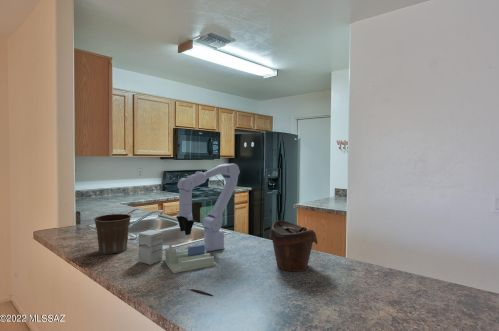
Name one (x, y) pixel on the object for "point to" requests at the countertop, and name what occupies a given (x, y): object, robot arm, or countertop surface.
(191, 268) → the dish rack
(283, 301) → the countertop surface
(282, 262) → the brown covered basket
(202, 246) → the slate blue tile
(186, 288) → the fork
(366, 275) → the countertop surface
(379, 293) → the countertop surface
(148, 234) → the supplement box
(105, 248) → the plant pot
